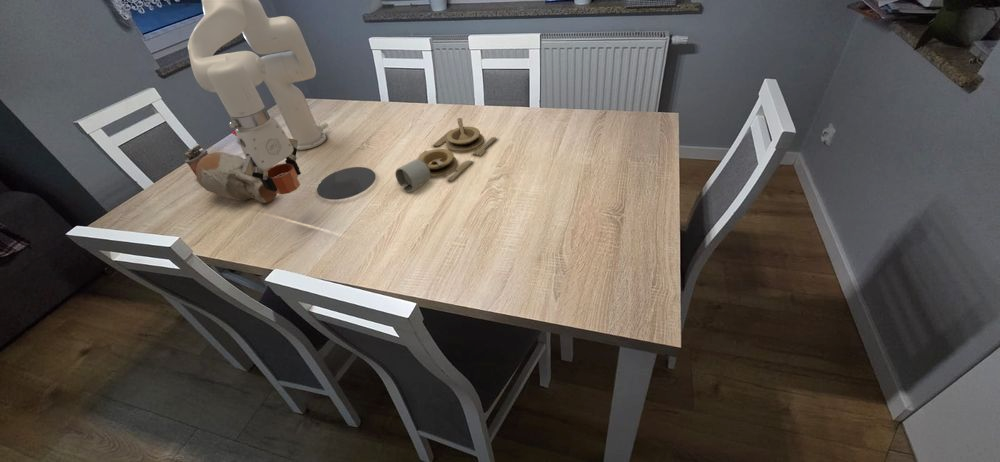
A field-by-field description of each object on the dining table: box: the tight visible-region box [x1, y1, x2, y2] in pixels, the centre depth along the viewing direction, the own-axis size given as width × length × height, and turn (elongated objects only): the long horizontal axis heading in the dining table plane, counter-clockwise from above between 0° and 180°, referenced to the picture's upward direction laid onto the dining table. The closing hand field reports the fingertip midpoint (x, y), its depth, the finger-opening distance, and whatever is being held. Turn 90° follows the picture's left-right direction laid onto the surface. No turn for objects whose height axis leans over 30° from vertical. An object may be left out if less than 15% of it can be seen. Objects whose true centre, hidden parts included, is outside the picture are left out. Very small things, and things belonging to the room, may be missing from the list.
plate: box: [316, 166, 377, 201], centre depth 124 cm, size 18×18×1 cm
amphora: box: [195, 151, 278, 204], centre depth 122 cm, size 14×16×30 cm
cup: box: [268, 162, 301, 195], centre depth 104 cm, size 7×8×5 cm
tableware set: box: [417, 117, 497, 183], centre depth 132 cm, size 30×20×6 cm, turn 151°
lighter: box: [184, 144, 209, 176], centre depth 136 cm, size 8×3×10 cm, turn 168°
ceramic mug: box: [394, 158, 431, 193], centre depth 120 cm, size 11×8×8 cm
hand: (284, 181), depth 104 cm, fingers closed on cup, 7 cm apart
